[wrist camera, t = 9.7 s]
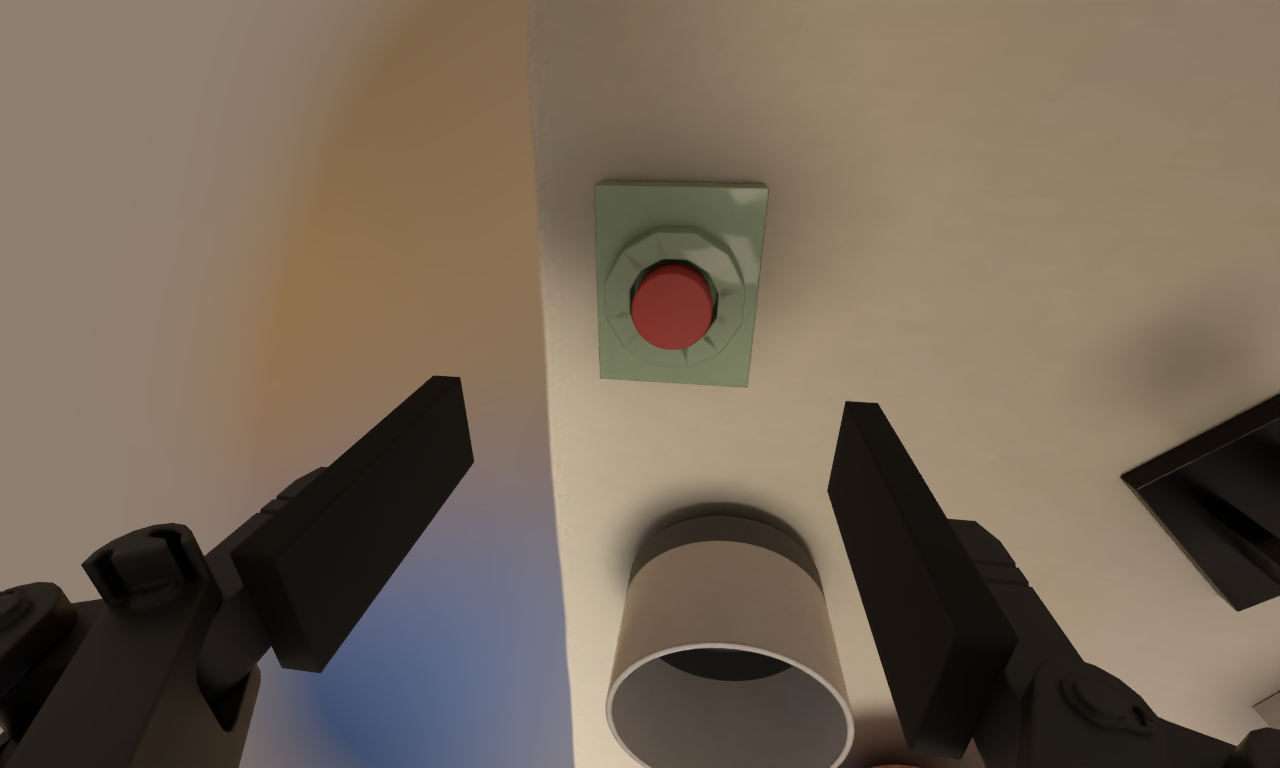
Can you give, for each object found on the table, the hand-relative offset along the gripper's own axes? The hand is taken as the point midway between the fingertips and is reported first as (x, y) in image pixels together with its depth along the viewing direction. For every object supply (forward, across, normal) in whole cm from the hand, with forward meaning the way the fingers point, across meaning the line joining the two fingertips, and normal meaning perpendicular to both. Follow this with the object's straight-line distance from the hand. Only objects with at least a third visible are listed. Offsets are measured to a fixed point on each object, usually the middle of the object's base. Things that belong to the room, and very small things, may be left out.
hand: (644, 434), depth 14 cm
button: (+12, 0, 0) cm, 12 cm away
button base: (+16, 0, 0) cm, 16 cm away
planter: (+16, +4, -21) cm, 26 cm away
